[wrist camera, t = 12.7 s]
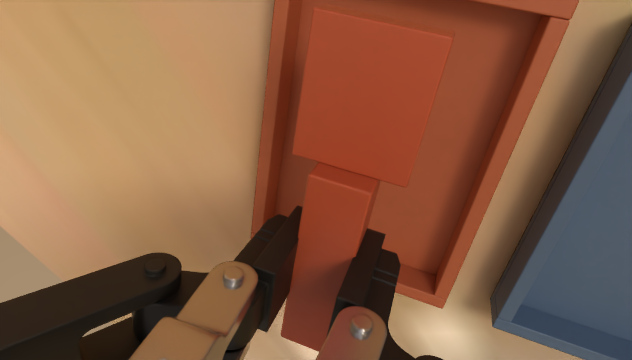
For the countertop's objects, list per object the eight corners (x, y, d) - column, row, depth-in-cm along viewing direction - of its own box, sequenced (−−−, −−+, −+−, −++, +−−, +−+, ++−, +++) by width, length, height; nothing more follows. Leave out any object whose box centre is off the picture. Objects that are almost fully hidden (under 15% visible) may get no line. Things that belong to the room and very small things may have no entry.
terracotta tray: (298, -53, 16) (279, -57, 14) (567, -3, 14) (580, -1, 12) (265, 222, 22) (249, 241, 21) (444, 283, 20) (442, 309, 19)
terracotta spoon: (364, 322, 15) (351, 365, 13) (281, 291, 16) (258, 328, 14) (455, 31, 10) (453, 42, 8) (326, 4, 11) (300, 9, 9)
